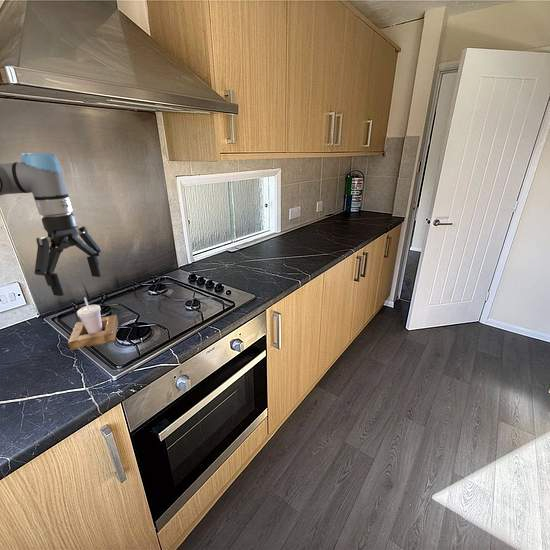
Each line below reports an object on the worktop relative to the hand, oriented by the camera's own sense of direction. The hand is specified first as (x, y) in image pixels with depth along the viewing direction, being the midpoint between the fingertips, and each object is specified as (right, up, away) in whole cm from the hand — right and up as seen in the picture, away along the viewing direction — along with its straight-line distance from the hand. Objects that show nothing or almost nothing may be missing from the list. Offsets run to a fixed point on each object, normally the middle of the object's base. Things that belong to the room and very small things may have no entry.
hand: (79, 285), depth 88 cm
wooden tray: (+1, -17, +7) cm, 18 cm away
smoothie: (+1, -17, +7) cm, 18 cm away
